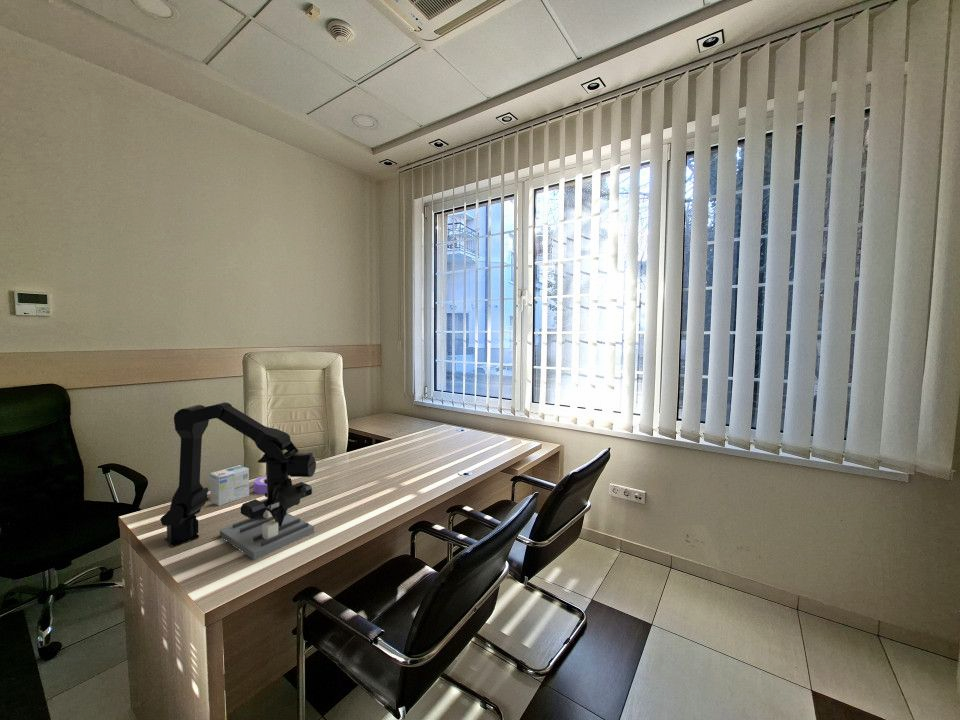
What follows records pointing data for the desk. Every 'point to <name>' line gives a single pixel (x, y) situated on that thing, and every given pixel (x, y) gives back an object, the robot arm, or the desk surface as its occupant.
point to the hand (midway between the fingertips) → (279, 526)
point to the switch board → (250, 534)
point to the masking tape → (260, 485)
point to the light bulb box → (229, 485)
